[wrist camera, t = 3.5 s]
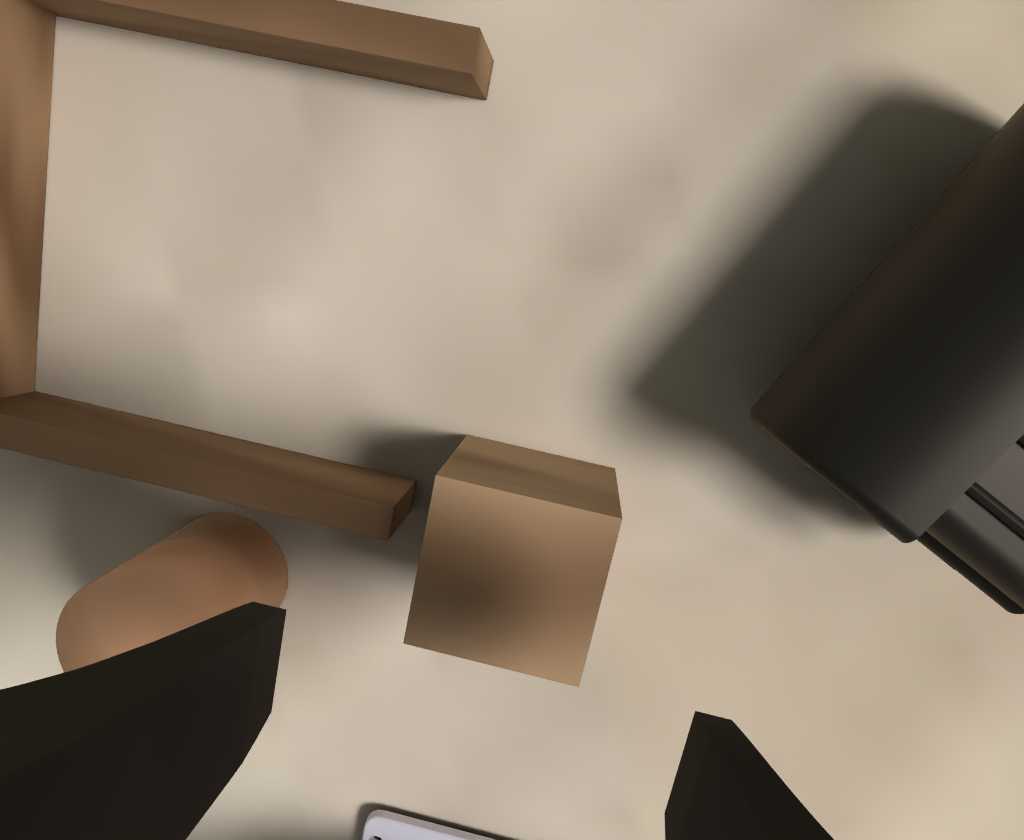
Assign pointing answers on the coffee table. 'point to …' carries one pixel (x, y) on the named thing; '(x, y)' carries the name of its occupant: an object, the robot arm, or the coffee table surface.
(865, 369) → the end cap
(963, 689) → the coffee table surface
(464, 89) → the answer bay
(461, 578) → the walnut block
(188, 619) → the tan rounded capsule
